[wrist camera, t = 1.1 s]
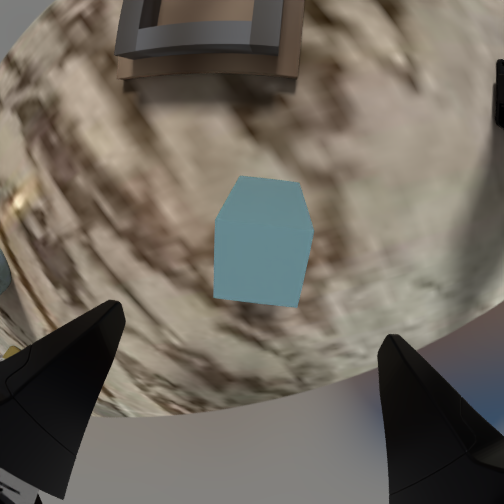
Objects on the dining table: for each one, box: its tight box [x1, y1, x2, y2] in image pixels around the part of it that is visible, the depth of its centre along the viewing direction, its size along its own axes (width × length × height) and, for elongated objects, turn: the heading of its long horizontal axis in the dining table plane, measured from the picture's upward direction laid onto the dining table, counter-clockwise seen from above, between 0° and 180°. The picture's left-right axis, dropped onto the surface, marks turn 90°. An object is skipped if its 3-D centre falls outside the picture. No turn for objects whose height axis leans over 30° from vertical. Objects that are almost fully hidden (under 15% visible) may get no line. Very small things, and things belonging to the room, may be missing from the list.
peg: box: [214, 176, 314, 308], centre depth 15 cm, size 4×4×8 cm
